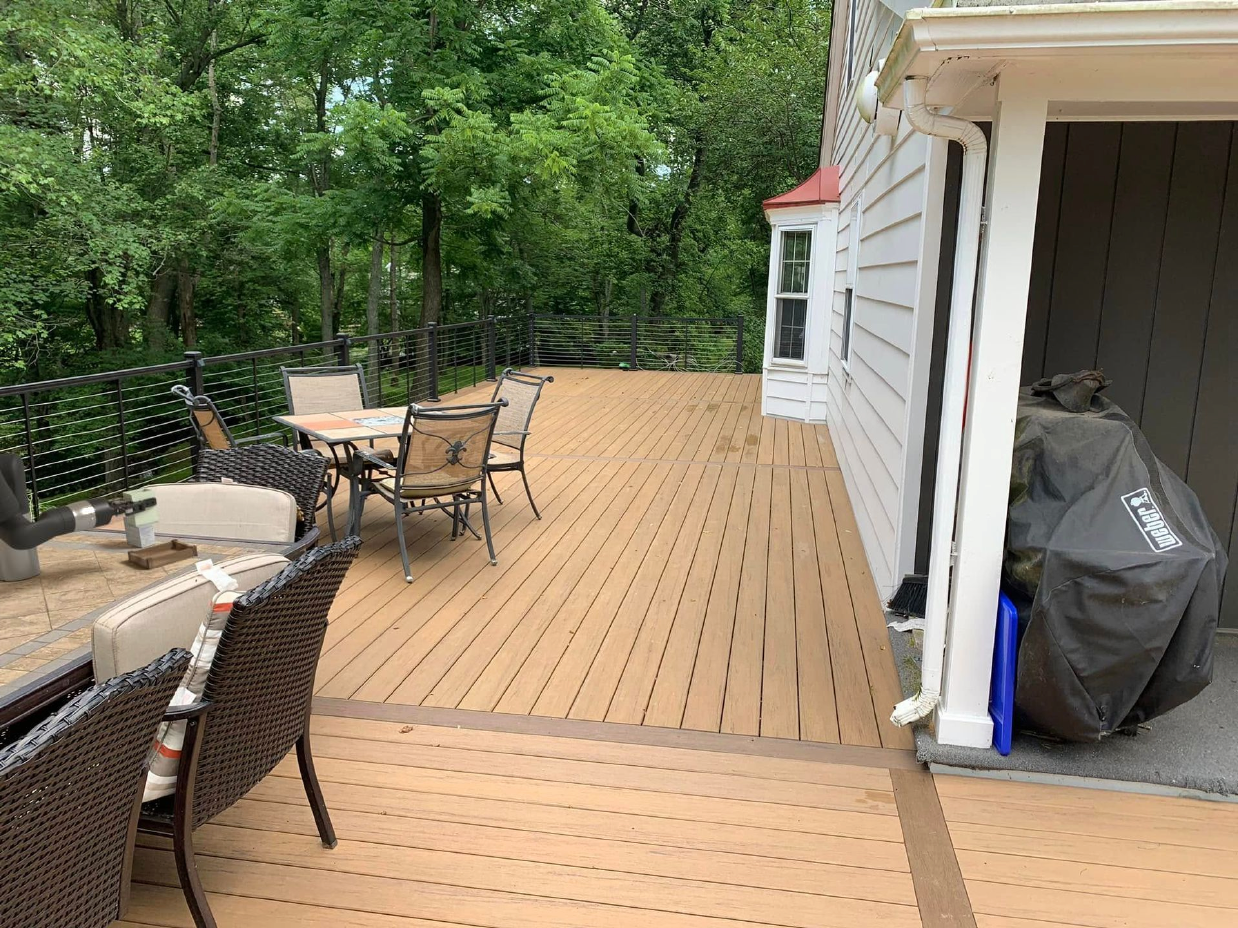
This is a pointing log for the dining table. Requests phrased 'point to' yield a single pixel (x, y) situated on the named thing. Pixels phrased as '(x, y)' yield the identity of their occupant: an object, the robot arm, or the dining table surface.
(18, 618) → the dining table surface
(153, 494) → the small square vase
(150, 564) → the walnut crate
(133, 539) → the medicine box
